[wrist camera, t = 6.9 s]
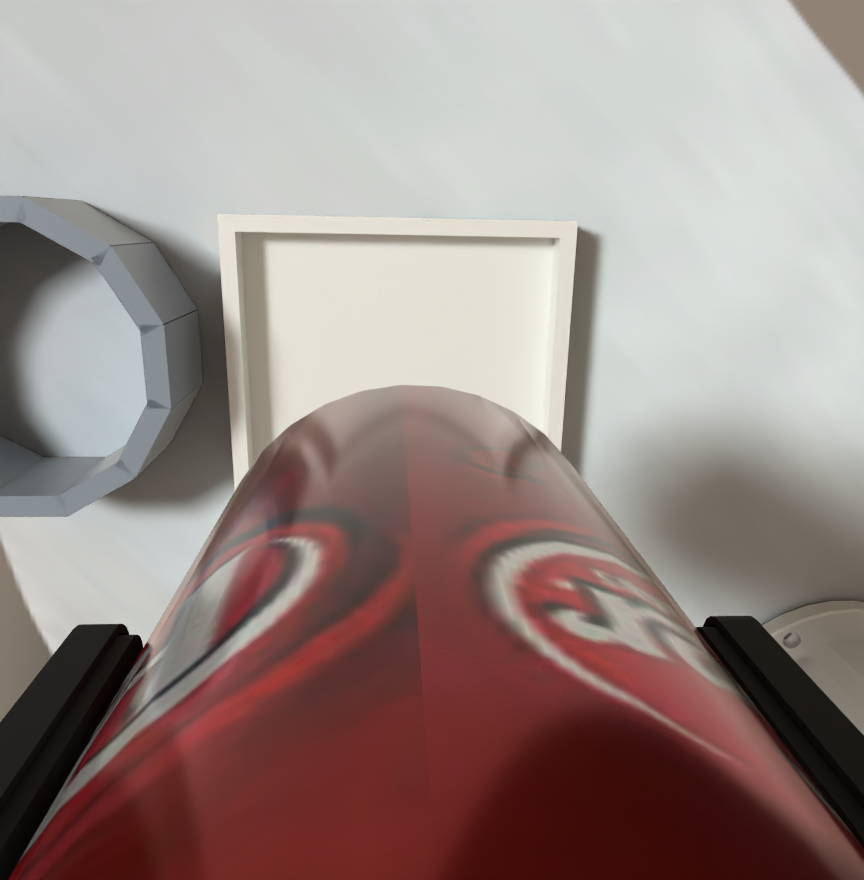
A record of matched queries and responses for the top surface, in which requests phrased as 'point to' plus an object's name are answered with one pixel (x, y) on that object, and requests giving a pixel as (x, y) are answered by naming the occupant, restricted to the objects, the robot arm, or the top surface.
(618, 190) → the top surface
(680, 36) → the top surface
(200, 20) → the top surface
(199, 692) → the soda can
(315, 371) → the tray
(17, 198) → the holder
